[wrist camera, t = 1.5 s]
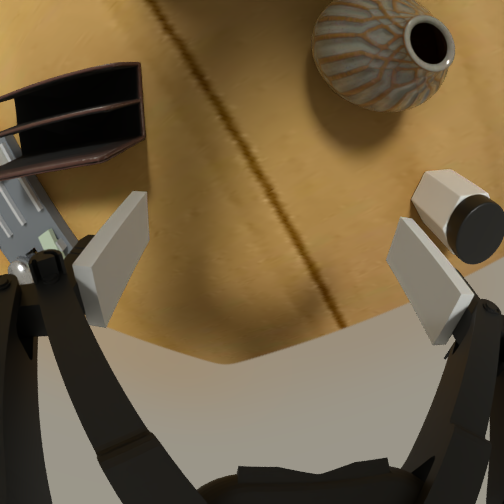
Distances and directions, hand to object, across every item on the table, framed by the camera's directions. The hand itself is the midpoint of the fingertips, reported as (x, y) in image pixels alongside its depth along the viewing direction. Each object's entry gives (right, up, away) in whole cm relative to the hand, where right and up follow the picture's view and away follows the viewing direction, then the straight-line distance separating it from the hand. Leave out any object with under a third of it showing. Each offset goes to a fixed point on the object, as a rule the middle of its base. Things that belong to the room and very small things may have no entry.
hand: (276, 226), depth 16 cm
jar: (+25, +7, +24) cm, 35 cm away
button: (-36, -3, +26) cm, 45 cm away
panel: (-38, +5, +25) cm, 46 cm away
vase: (+11, +22, +15) cm, 29 cm away
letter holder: (-24, +17, +18) cm, 35 cm away
